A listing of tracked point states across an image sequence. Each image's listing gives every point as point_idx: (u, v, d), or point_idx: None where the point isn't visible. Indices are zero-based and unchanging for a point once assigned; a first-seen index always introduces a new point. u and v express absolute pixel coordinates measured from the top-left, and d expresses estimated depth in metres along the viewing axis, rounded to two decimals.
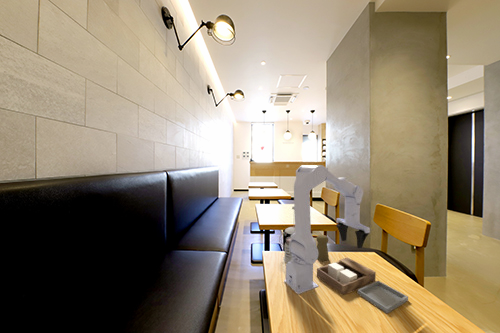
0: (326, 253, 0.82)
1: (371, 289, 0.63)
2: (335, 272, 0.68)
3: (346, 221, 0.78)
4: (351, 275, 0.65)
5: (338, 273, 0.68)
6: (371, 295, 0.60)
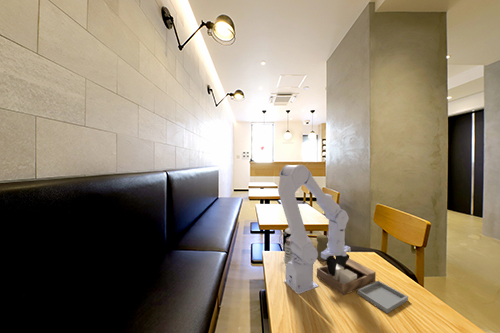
0: None
1: (371, 289, 0.63)
2: (335, 272, 0.68)
3: None
4: (351, 275, 0.65)
5: (338, 273, 0.68)
6: (371, 295, 0.60)
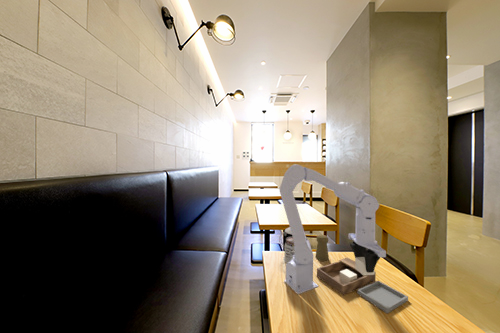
0: (326, 253, 0.82)
1: (371, 289, 0.63)
2: None
3: (356, 238, 0.62)
4: (351, 275, 0.65)
5: None
6: (371, 295, 0.60)
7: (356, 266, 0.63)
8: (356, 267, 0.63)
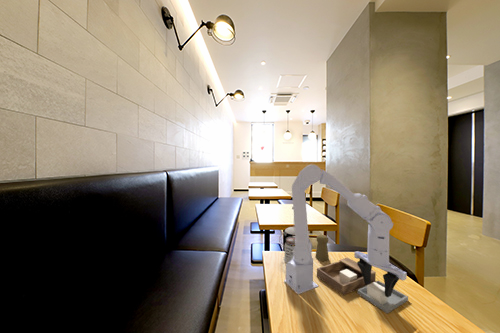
0: (326, 253, 0.82)
1: None
2: None
3: (371, 260, 0.58)
4: (351, 275, 0.65)
5: None
6: None
7: (369, 295, 0.59)
8: (369, 296, 0.59)
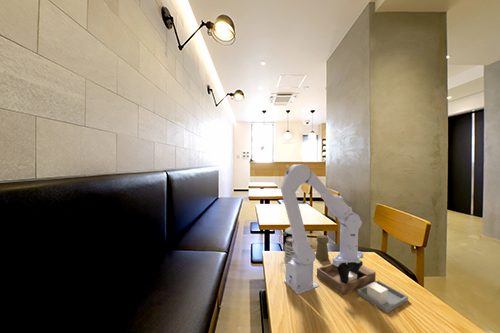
0: (326, 253, 0.82)
1: None
2: (387, 293, 0.57)
3: None
4: (351, 275, 0.65)
5: None
6: None
7: (369, 295, 0.59)
8: (369, 296, 0.59)
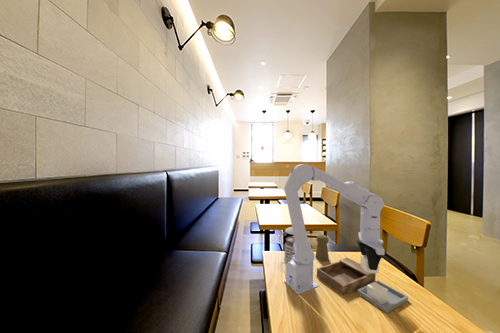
0: (326, 253, 0.82)
1: None
2: (387, 293, 0.57)
3: (360, 236, 0.64)
4: None
5: None
6: None
7: (369, 295, 0.59)
8: (369, 296, 0.59)
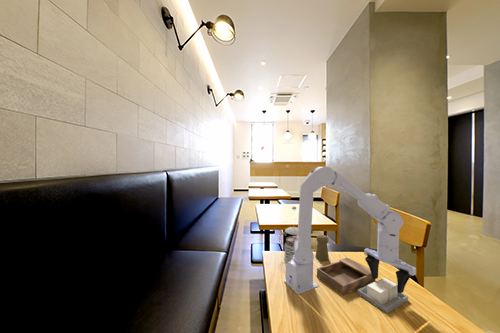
0: (326, 253, 0.82)
1: None
2: (387, 293, 0.57)
3: (381, 256, 0.60)
4: (390, 282, 0.61)
5: None
6: None
7: (369, 295, 0.59)
8: (369, 296, 0.59)
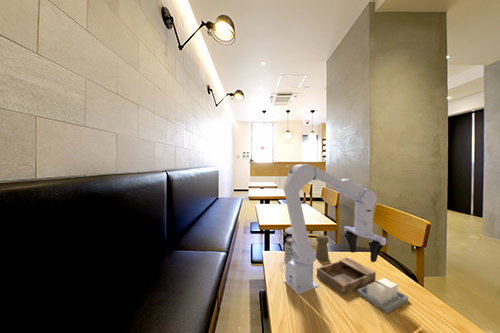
0: (326, 253, 0.82)
1: None
2: (387, 293, 0.57)
3: (357, 230, 0.67)
4: (390, 282, 0.61)
5: None
6: None
7: (369, 295, 0.59)
8: (369, 296, 0.59)
